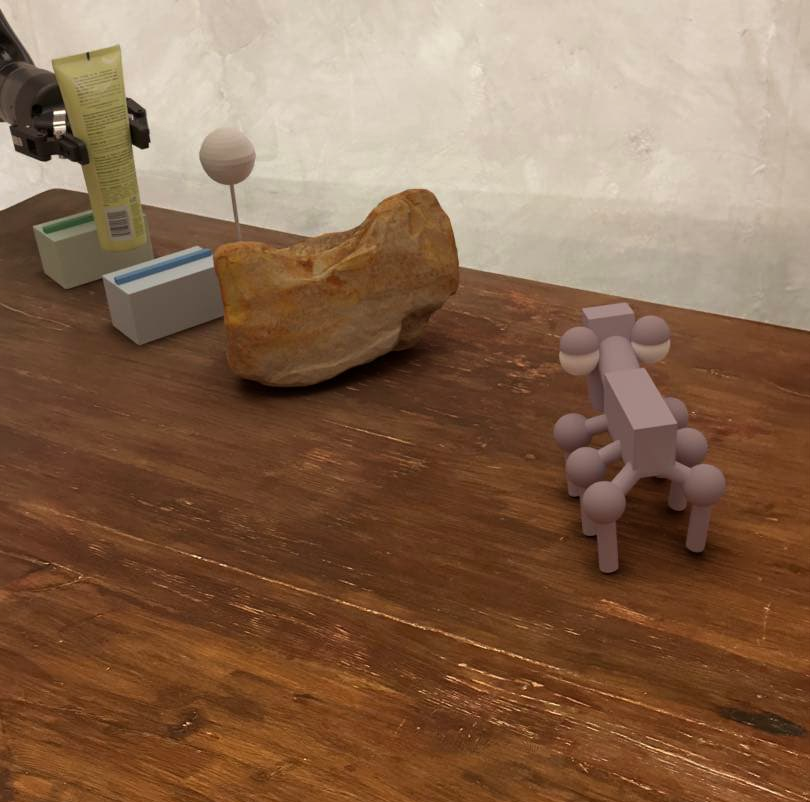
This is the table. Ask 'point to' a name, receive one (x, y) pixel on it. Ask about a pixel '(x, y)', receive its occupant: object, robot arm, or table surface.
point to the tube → (104, 143)
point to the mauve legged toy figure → (630, 428)
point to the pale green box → (82, 251)
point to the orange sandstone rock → (337, 293)
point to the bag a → (164, 295)
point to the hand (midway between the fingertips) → (115, 146)
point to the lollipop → (228, 161)
